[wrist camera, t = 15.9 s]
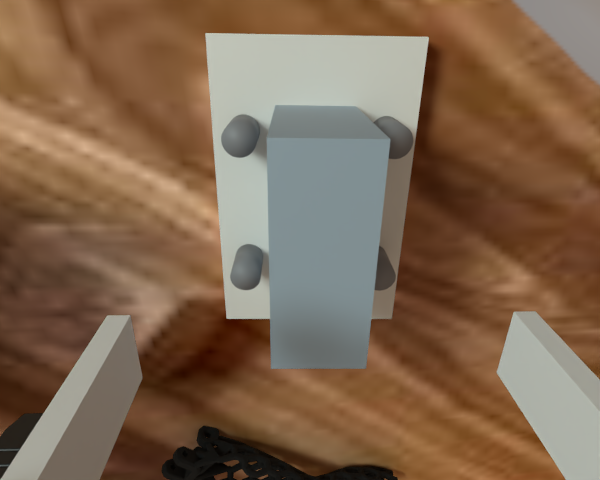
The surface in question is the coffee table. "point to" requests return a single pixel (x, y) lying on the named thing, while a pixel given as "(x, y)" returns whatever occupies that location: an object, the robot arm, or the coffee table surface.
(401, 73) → the pegboard
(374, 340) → the coffee table surface
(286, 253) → the slate block
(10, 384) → the coffee table surface
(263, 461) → the decorative element
